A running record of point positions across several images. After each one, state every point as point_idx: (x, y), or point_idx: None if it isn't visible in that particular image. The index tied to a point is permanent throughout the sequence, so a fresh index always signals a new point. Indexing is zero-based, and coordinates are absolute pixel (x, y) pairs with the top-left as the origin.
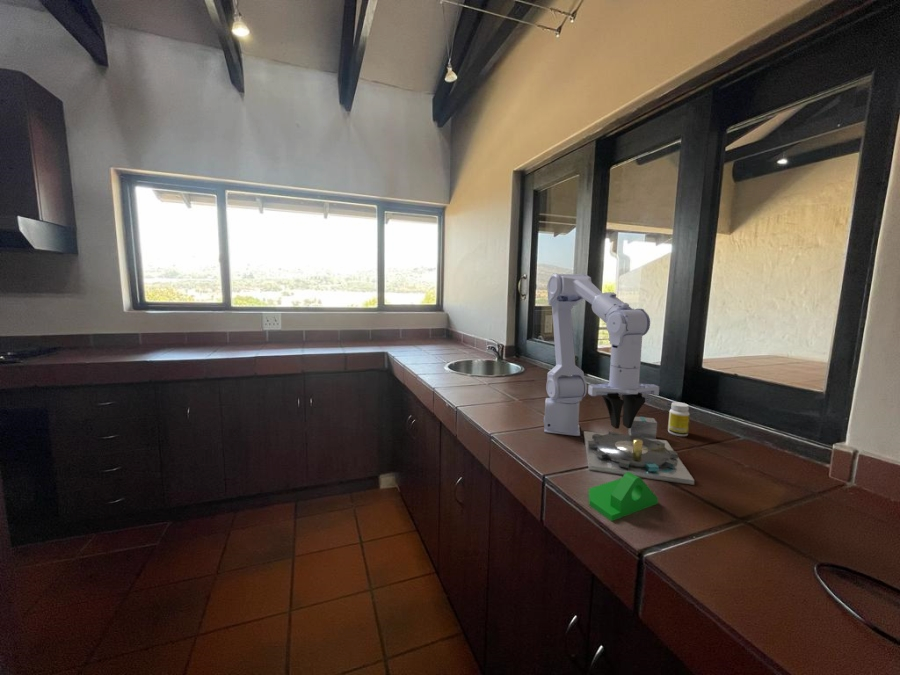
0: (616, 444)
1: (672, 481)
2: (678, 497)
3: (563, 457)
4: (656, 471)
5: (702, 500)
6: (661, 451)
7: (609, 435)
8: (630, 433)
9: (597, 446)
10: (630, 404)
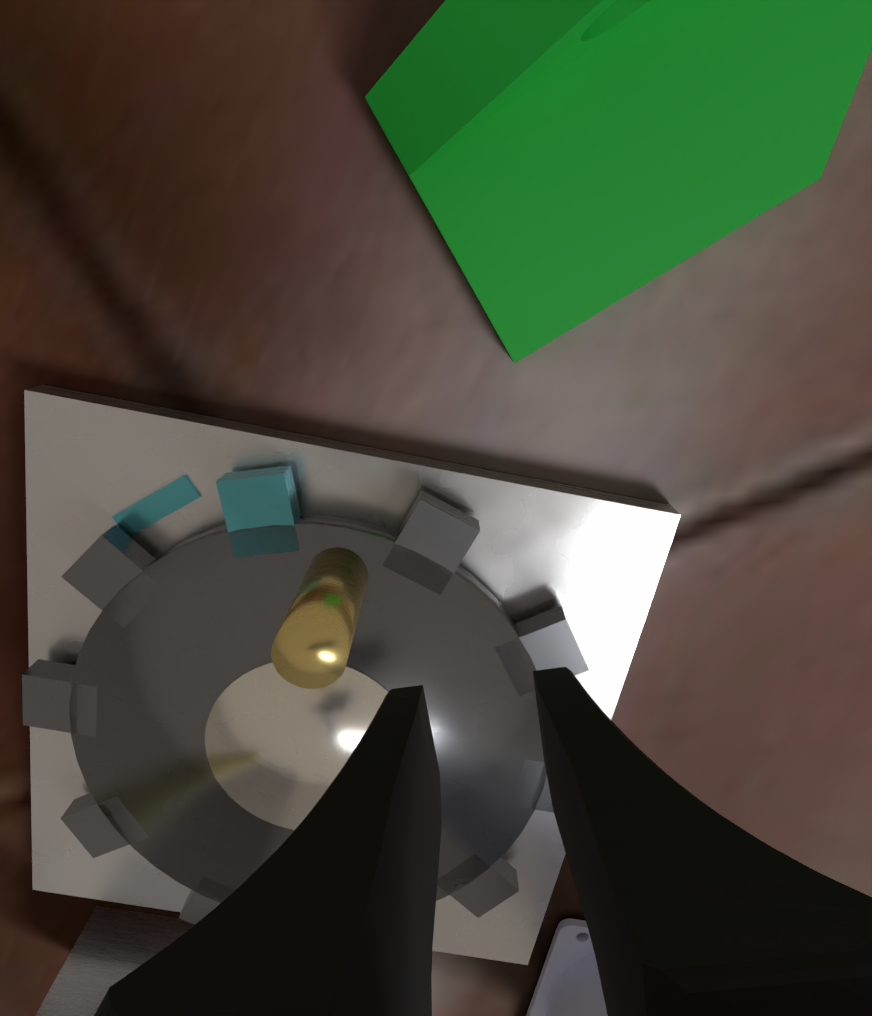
0: None
1: (168, 408)
2: (199, 210)
3: (777, 649)
4: None
5: (56, 190)
6: (120, 710)
7: None
8: None
9: None
10: (387, 986)
